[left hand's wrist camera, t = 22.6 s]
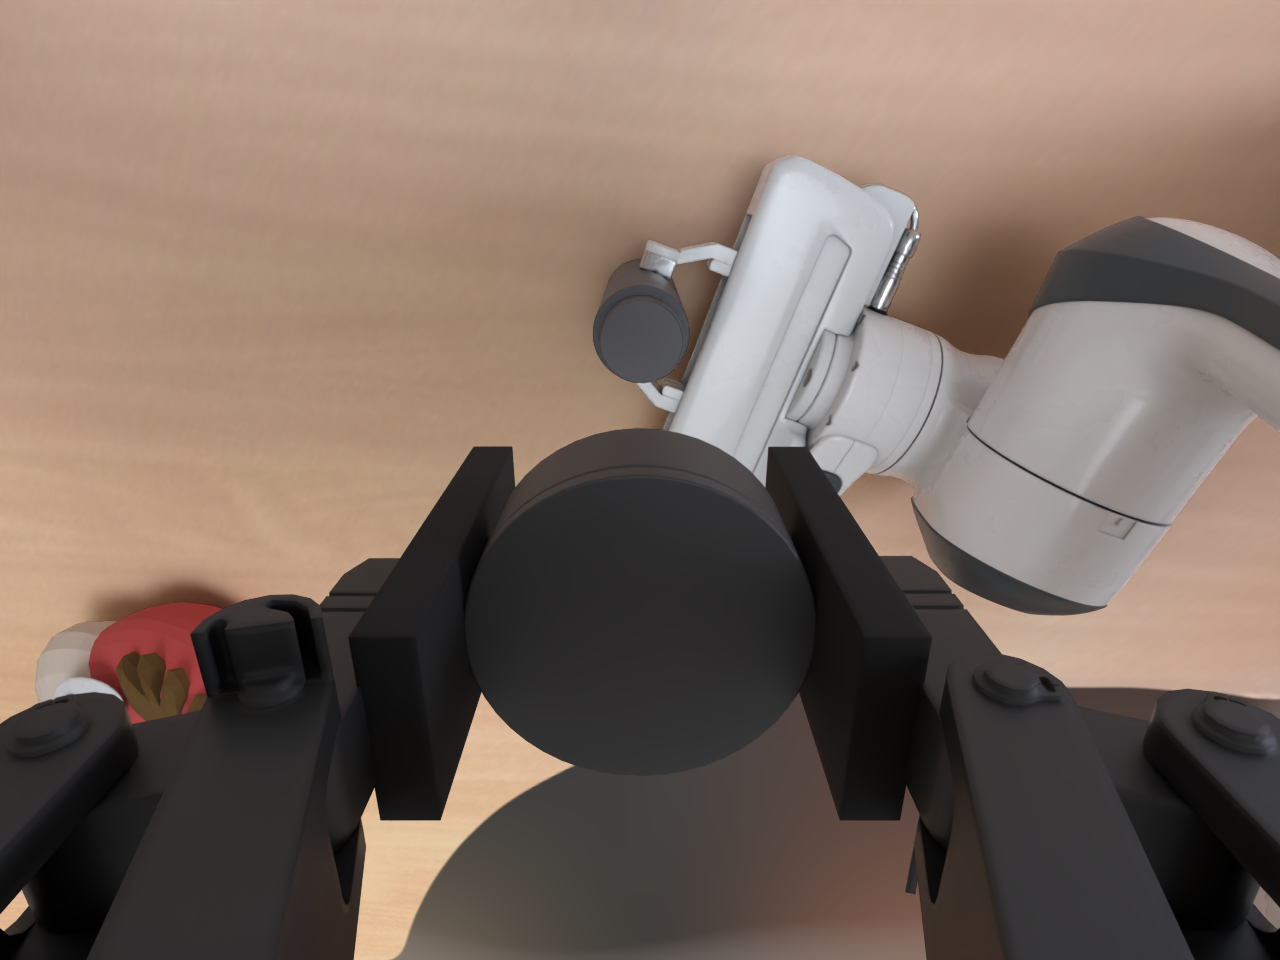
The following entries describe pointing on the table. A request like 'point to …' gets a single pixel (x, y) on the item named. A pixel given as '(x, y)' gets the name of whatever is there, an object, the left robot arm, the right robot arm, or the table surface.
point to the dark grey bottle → (640, 325)
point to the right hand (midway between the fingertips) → (625, 305)
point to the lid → (640, 606)
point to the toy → (130, 661)
